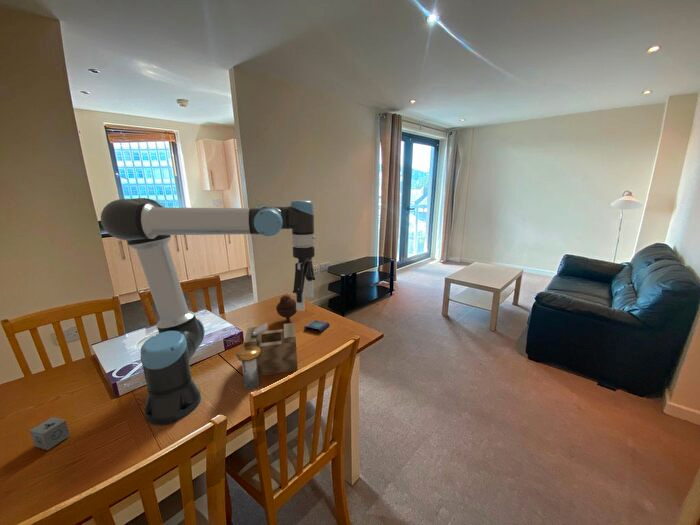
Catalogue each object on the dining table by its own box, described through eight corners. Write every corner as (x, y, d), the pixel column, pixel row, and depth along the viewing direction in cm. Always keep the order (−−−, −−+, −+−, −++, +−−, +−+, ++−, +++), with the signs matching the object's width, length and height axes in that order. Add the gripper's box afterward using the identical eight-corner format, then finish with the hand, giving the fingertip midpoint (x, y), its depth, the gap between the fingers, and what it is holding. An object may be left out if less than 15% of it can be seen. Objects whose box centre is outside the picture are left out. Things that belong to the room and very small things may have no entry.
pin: (238, 393, 98) (234, 359, 95) (241, 379, 105) (237, 347, 102) (262, 390, 100) (259, 356, 97) (264, 376, 107) (261, 344, 104)
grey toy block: (47, 450, 77) (42, 434, 76) (34, 446, 79) (29, 430, 77) (69, 435, 82) (65, 420, 81) (57, 431, 83) (52, 416, 82)
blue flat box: (303, 325, 140) (315, 318, 149) (303, 331, 140) (315, 323, 150) (320, 329, 136) (331, 321, 145) (320, 335, 136) (331, 327, 146)
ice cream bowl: (273, 327, 146) (270, 299, 142) (284, 318, 156) (282, 291, 153) (292, 330, 143) (290, 301, 139) (302, 320, 153) (301, 293, 150)
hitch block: (247, 377, 107) (243, 342, 104) (250, 359, 118) (247, 327, 115) (297, 369, 111) (295, 336, 107) (296, 353, 122) (294, 322, 119)
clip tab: (252, 337, 108) (251, 335, 107) (253, 331, 112) (252, 329, 112) (266, 329, 108) (265, 327, 108) (267, 323, 113) (266, 321, 113)
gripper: (305, 253, 90) (307, 317, 95) (321, 240, 114) (322, 292, 119) (281, 252, 91) (284, 316, 95) (302, 240, 115) (303, 291, 120)
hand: (305, 303), depth 107 cm, fingers open, 13 cm apart
